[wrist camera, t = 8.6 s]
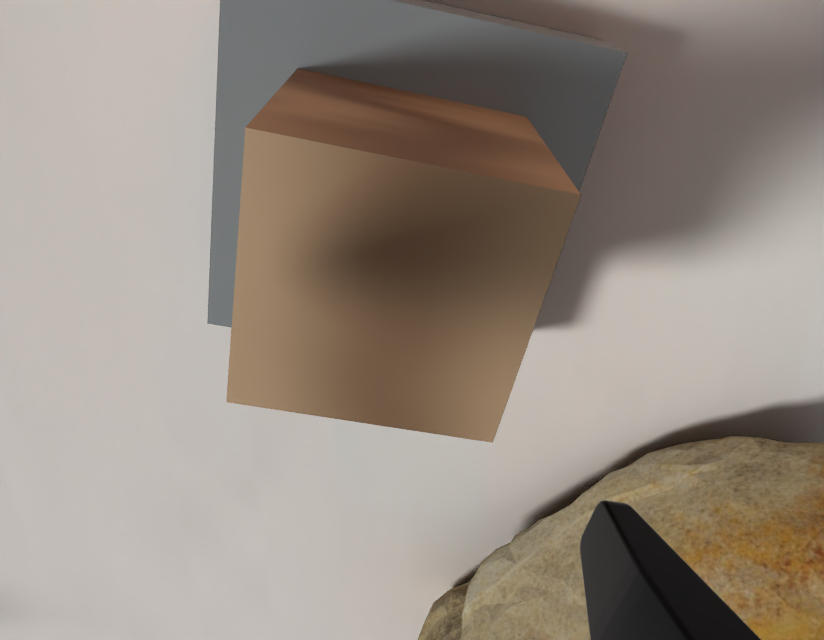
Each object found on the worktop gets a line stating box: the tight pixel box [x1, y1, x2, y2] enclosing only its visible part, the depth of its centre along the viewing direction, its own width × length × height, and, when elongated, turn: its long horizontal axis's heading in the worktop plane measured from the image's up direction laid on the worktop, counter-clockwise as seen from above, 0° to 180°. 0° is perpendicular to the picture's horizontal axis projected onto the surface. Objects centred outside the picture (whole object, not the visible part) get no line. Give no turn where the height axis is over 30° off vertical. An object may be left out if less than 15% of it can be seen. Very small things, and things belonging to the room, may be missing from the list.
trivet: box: [208, 0, 627, 327], centre depth 19 cm, size 10×10×2 cm
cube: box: [227, 68, 581, 442], centre depth 15 cm, size 6×6×6 cm
